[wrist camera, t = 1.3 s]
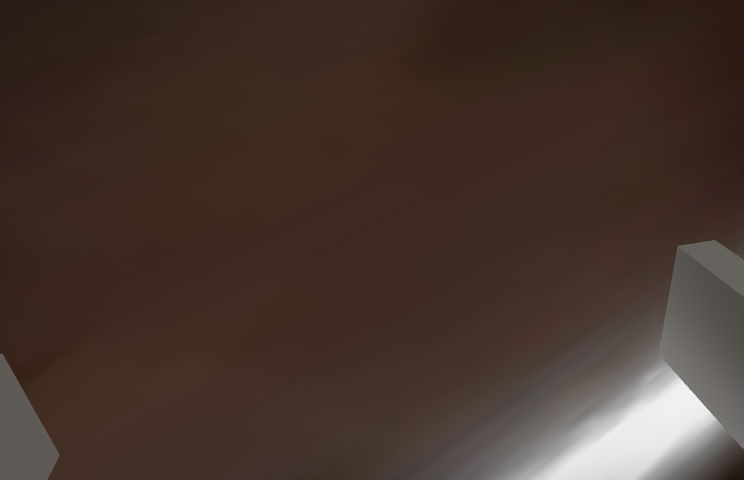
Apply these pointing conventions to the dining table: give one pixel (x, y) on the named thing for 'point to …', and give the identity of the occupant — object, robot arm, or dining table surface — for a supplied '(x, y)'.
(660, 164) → the dining table surface
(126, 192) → the dining table surface
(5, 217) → the dining table surface
